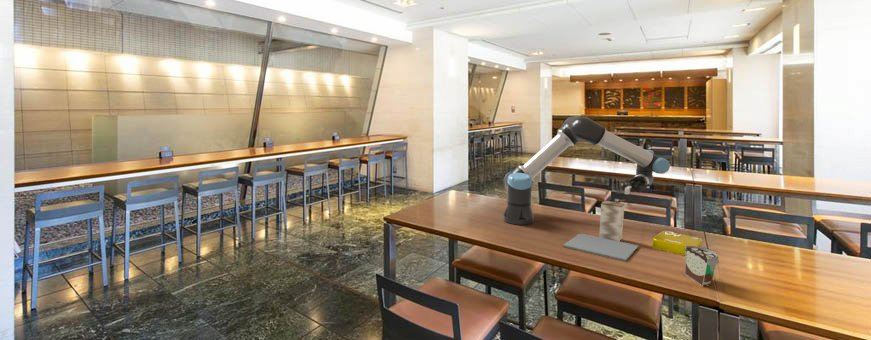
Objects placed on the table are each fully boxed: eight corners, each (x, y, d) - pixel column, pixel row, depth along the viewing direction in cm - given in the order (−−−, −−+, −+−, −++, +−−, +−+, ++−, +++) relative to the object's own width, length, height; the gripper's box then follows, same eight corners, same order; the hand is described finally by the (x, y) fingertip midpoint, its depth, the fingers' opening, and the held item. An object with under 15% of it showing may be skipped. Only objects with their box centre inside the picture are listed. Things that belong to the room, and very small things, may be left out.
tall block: (599, 238, 171) (601, 202, 168) (602, 235, 174) (605, 200, 172) (618, 242, 165) (621, 205, 163) (621, 239, 169) (624, 203, 167)
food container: (725, 289, 123) (729, 259, 122) (705, 288, 124) (709, 259, 122) (700, 272, 136) (703, 245, 134) (682, 272, 136) (685, 245, 134)
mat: (563, 246, 161) (563, 244, 160) (579, 235, 175) (580, 233, 175) (625, 261, 145) (625, 259, 145) (638, 247, 160) (638, 245, 159)
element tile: (650, 248, 159) (651, 237, 158) (661, 239, 170) (662, 229, 169) (693, 258, 149) (694, 246, 148) (702, 248, 159) (704, 237, 158)
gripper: (653, 192, 192) (641, 201, 174) (624, 188, 201) (610, 197, 183) (654, 177, 191) (642, 184, 173) (625, 174, 199) (611, 181, 181)
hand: (626, 191), depth 178 cm, fingers closed
